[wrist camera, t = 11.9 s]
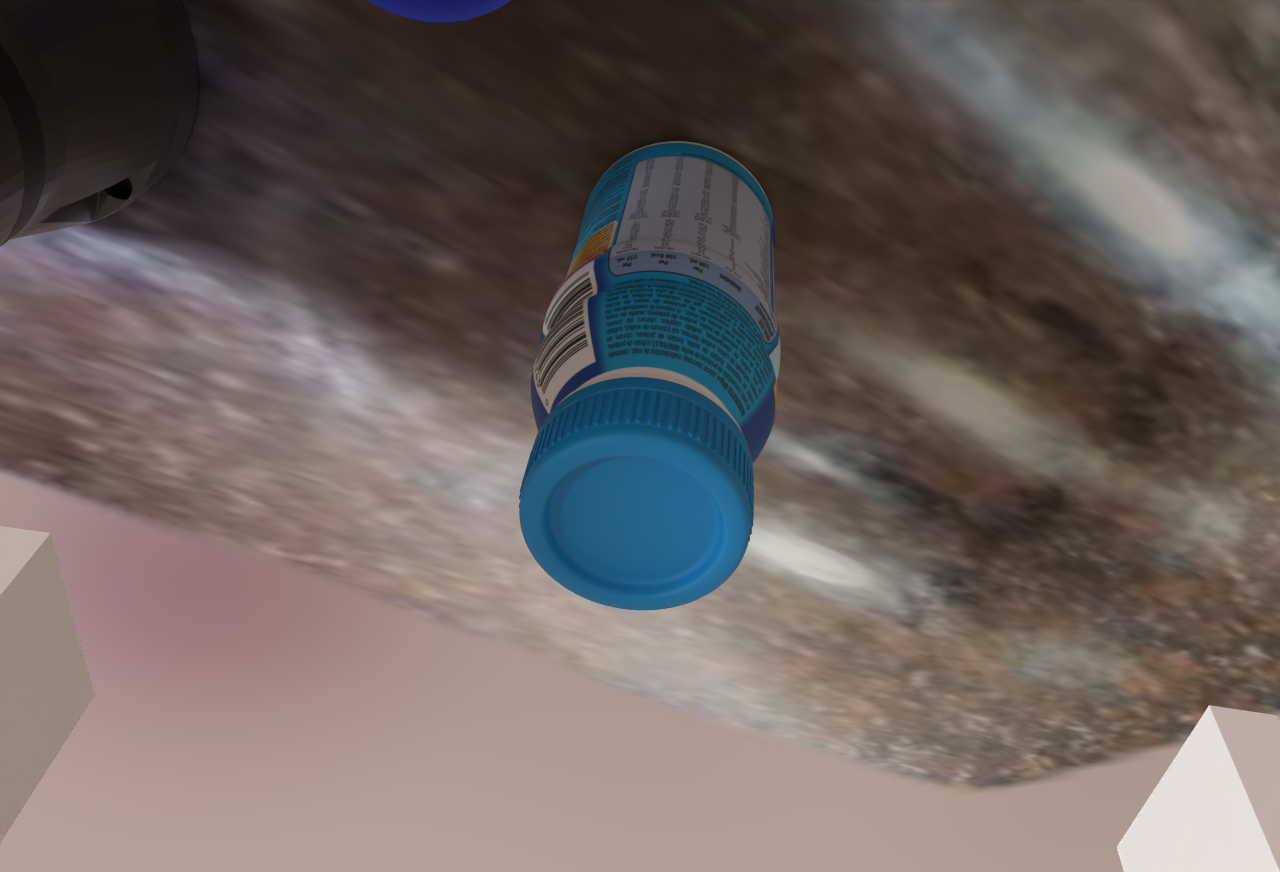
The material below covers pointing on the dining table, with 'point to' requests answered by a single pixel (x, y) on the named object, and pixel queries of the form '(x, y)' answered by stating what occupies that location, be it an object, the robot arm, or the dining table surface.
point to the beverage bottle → (655, 383)
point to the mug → (440, 9)
